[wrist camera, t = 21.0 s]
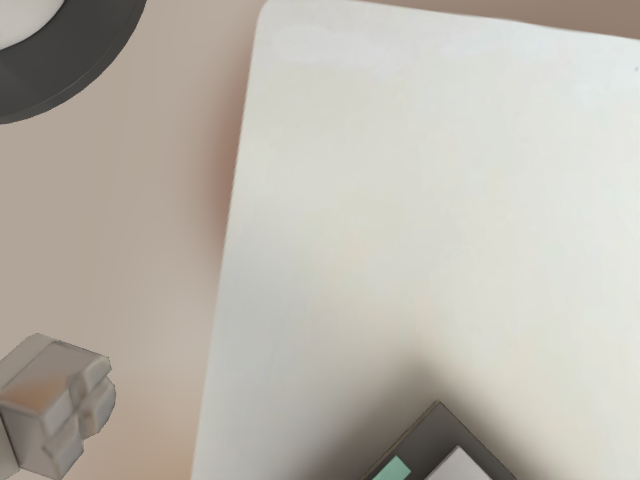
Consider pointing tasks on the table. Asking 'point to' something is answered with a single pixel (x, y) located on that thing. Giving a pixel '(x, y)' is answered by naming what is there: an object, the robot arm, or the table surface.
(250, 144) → the table surface
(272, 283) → the table surface
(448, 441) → the kitchen scale
